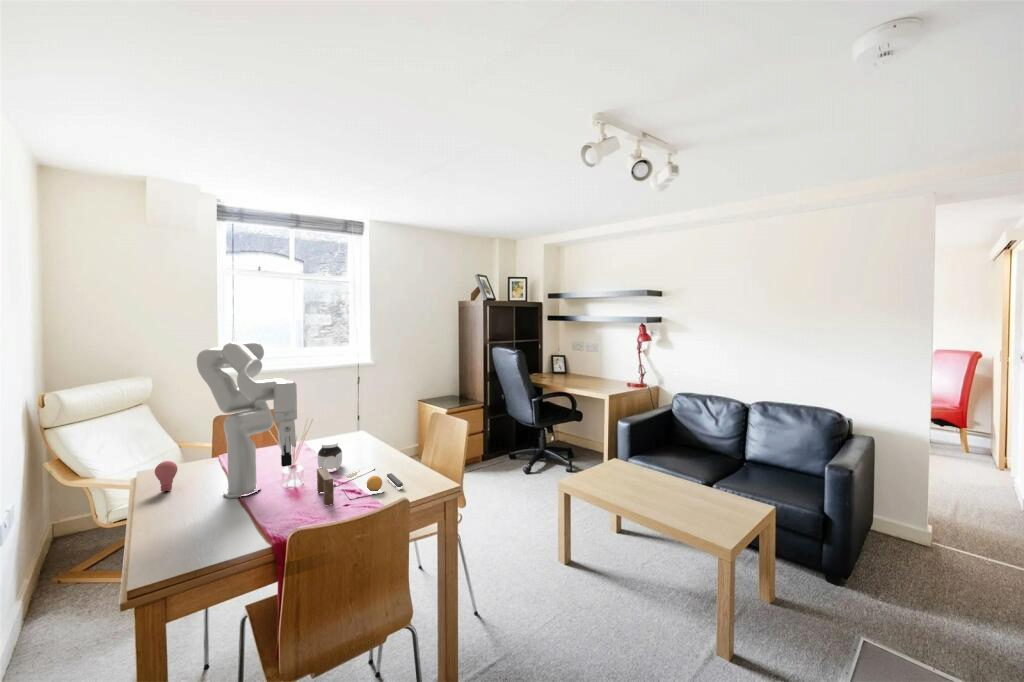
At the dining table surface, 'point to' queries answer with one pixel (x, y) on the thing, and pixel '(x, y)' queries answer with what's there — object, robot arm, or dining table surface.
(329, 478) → the bridge
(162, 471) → the light bulb
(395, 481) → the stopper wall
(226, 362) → the robot arm
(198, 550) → the dining table surface
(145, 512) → the dining table surface
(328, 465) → the spread jar
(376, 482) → the ball
